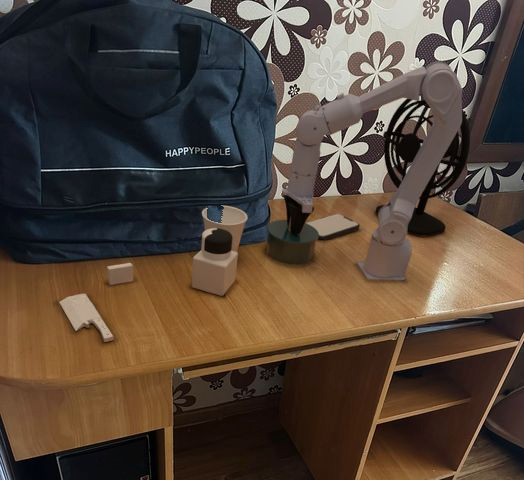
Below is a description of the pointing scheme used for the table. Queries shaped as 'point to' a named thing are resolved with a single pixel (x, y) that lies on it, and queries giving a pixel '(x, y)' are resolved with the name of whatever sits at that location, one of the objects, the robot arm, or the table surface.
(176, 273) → the table surface
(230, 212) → the cup
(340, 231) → the phone case
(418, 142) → the desk fan
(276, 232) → the lid
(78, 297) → the butcher knife
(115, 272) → the eraser
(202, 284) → the medicine bottle
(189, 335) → the table surface
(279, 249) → the canister
